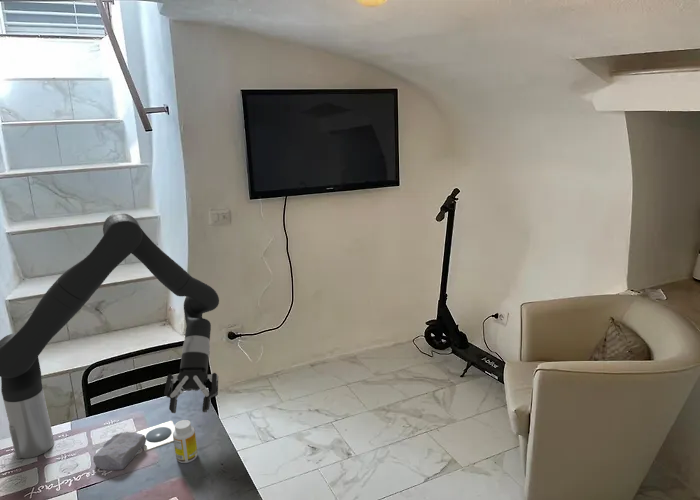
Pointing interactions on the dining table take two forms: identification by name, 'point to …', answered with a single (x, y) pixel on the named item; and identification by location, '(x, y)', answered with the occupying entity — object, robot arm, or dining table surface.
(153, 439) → the cream square pad
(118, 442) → the stone block
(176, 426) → the supplement bottle
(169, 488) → the dining table surface
